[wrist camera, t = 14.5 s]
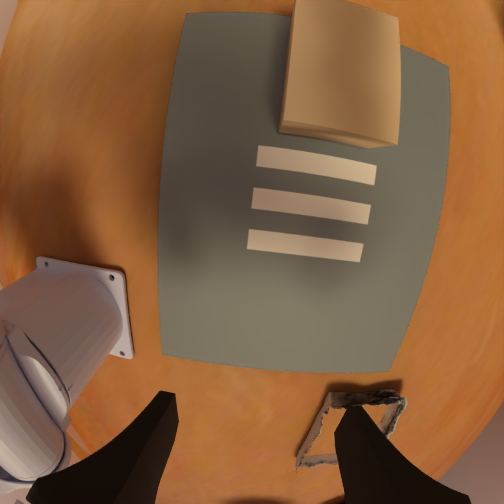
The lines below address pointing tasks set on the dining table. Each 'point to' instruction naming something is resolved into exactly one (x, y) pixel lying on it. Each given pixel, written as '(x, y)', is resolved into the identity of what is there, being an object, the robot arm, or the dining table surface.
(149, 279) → the dining table surface
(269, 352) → the slate board
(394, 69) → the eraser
